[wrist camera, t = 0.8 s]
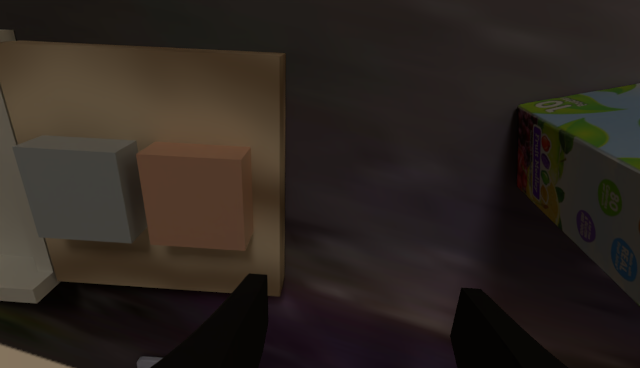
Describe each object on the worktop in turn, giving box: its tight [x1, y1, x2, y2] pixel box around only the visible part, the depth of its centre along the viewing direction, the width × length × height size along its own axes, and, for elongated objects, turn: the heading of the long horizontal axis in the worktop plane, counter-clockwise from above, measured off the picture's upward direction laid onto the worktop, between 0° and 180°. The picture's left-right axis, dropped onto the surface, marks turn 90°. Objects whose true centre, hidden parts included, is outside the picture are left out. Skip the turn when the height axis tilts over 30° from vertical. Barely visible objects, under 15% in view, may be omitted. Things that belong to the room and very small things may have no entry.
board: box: [0, 41, 286, 296], centre depth 21 cm, size 14×14×2 cm
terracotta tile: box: [136, 142, 254, 251], centre depth 20 cm, size 5×5×2 cm
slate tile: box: [12, 135, 148, 243], centre depth 20 cm, size 5×5×2 cm
